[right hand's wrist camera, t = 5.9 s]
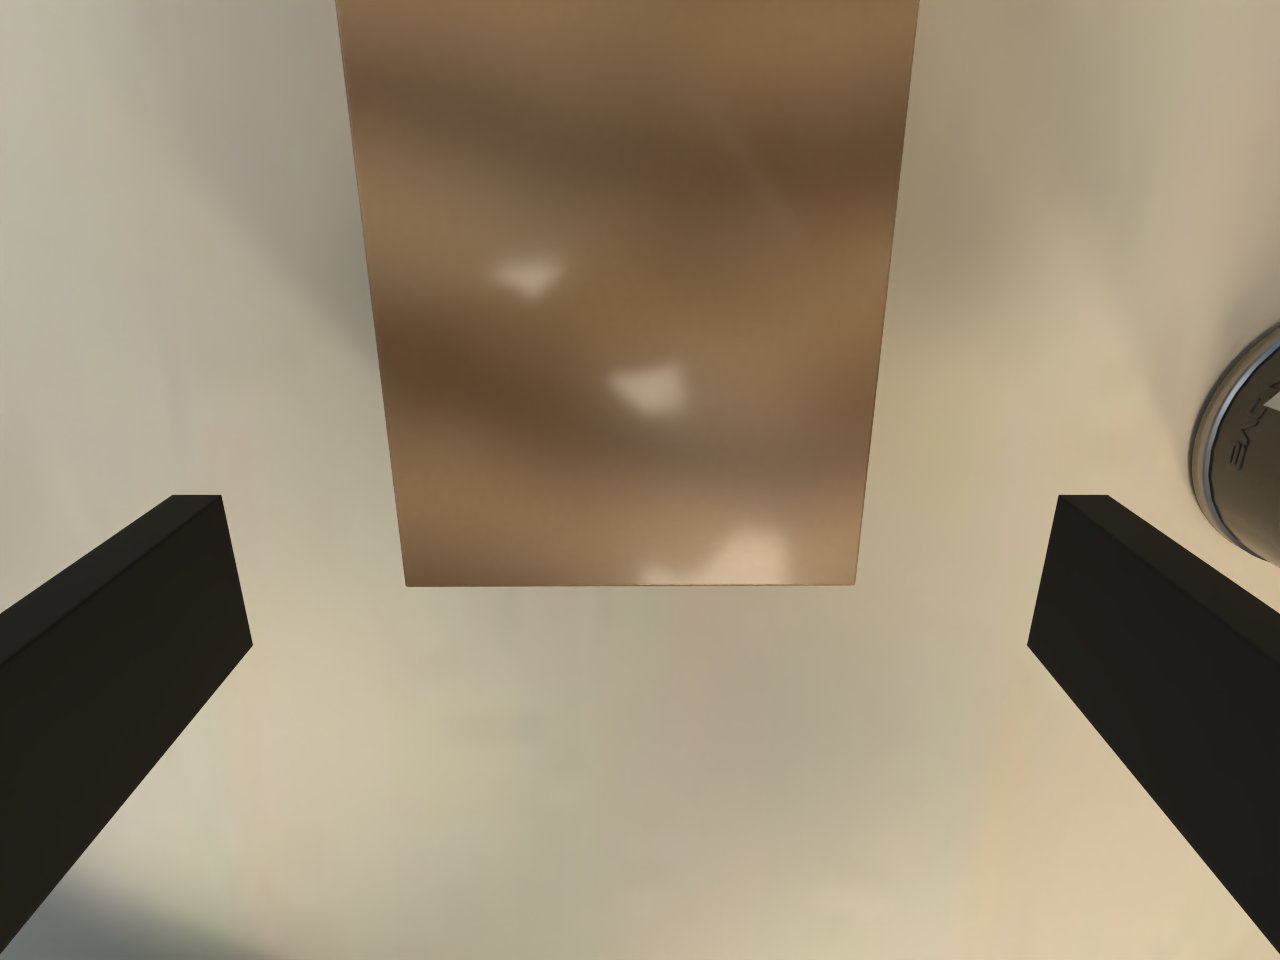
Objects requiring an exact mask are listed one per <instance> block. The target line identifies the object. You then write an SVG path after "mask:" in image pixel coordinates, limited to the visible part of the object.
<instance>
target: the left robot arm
mask: <svg viewBox="0 0 1280 960" xmlns="http://www.w3.org/2000/svg"><path fill="white" fill-rule="evenodd" d="M1192 479H1193V486H1194V490H1195V494H1196V498H1197V500H1198V503H1199V505H1200V508H1201V510H1202V511H1203V513H1204V515H1205V517H1206V518H1207V520H1208V521H1209V522H1210V524H1211V525H1212V526H1213V527H1214V528H1215V529H1216V530H1217V531H1218V532H1219V533H1220V534H1221V535H1222V536H1223V537H1225V538H1226V539H1227V540H1228V541H1230V542H1232V543H1233V544H1235V545H1237V546H1238V547H1240V548H1241V549H1243V550H1245V551H1246V552H1248V553H1250V554H1251V555H1253V556H1256V557H1258V558H1260V559H1262V560H1265V561H1268V562H1270V563H1272V564H1274V565H1275V566H1277V567H1279V568H1280V327H1279V328H1277V329H1276V330H1274V331H1273V332H1271V333H1270V334H1269V335H1267V336H1266V337H1265V338H1263V339H1262V340H1261V341H1260V342H1258V343H1257V344H1256V345H1255V346H1254V347H1253V348H1252V349H1250V350H1249V351H1248V352H1247V353H1246V354H1245V355H1244V356H1243V357H1242V358H1241V359H1240V360H1239V361H1238V362H1237V364H1236V365H1235V366H1234V367H1233V368H1232V370H1231V371H1230V372H1229V373H1228V374H1227V376H1226V377H1225V378H1224V380H1223V381H1222V383H1221V384H1220V385H1219V387H1218V388H1217V390H1216V392H1215V393H1214V395H1213V397H1212V398H1211V400H1210V402H1209V404H1208V406H1207V408H1206V410H1205V412H1204V414H1203V417H1202V419H1201V422H1200V424H1199V427H1198V431H1197V434H1196V438H1195V442H1194V448H1193V455H1192Z"/></svg>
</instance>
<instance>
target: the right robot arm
mask: <svg viewBox="0 0 1280 960" xmlns="http://www.w3.org/2000/svg"><path fill="white" fill-rule="evenodd" d="M252 646H253V643H252V638H251V634H250V629H249V624H248V619H247V615H246V610H245V605H244V601H243V596H242V591H241V586H240V582H239V577H238V572H237V567H236V563H235V558H234V553H233V548H232V544H231V539H230V534H229V529H228V525H227V520H226V515H225V510H224V506H223V501H222V496H221V495H172V496H170V497H169V498H167V499H166V500H164V501H163V502H162V503H160V504H159V505H157V506H156V507H154V508H153V509H151V510H150V511H148V512H147V513H146V514H144V515H143V516H141V517H140V518H138V519H137V520H135V521H134V522H133V523H131V524H130V525H128V526H127V527H125V528H124V529H122V530H121V531H119V532H118V533H117V534H115V535H114V536H112V537H111V538H109V539H108V540H106V541H105V542H104V543H102V544H101V545H99V546H98V547H96V548H95V549H93V550H92V551H91V552H89V553H88V554H86V555H85V556H83V557H82V558H80V559H79V560H77V561H76V562H75V563H73V564H72V565H70V566H69V567H67V568H66V569H64V570H63V571H62V572H60V573H59V574H57V575H56V576H54V577H53V578H51V579H50V580H48V581H47V582H46V583H44V584H43V585H41V586H40V587H38V588H37V589H35V590H34V591H33V592H31V593H30V594H28V595H27V596H25V597H24V598H22V599H21V600H19V601H18V602H17V603H15V604H14V605H12V606H11V607H9V608H8V609H6V610H5V611H4V612H2V613H1V614H0V954H1V952H2V951H3V950H4V949H5V948H6V946H7V945H8V944H9V943H10V941H11V940H12V939H13V938H14V937H15V935H16V934H17V933H18V932H19V930H20V929H21V928H22V927H23V926H24V924H25V923H26V922H27V921H28V919H29V918H30V917H31V916H32V915H33V913H34V912H35V911H36V910H37V908H38V907H39V906H40V905H41V904H42V902H43V901H44V900H45V899H46V897H47V896H48V895H49V894H50V893H51V891H52V890H53V889H54V888H55V886H56V885H57V884H58V883H59V882H60V880H61V879H62V878H63V877H64V875H65V874H66V873H67V872H68V871H69V869H70V868H71V867H72V866H73V864H74V863H75V862H76V861H77V860H78V858H79V857H80V856H81V855H82V853H83V852H84V851H85V850H86V849H87V847H88V846H89V845H90V844H91V842H92V841H93V840H94V839H95V838H96V836H97V835H98V834H99V833H100V831H101V830H102V829H103V828H104V827H105V825H106V824H107V823H108V822H109V821H110V819H111V818H112V817H113V816H114V814H115V813H116V812H117V811H118V810H119V808H120V807H121V806H122V805H123V803H124V802H125V801H126V800H127V799H128V797H129V796H130V795H131V794H132V792H133V791H134V790H135V789H136V788H137V786H138V785H139V784H140V783H141V781H142V780H143V779H144V778H145V777H146V775H147V774H148V773H149V772H150V770H151V769H152V768H153V767H154V766H155V764H156V763H157V762H158V761H159V759H160V758H161V757H162V756H163V755H164V753H165V752H166V751H167V750H168V748H169V747H170V746H171V745H172V744H173V742H174V741H175V740H176V739H177V737H178V736H179V735H180V734H181V733H182V731H183V730H184V729H185V728H186V726H187V725H188V724H189V723H190V722H191V720H192V719H193V718H194V717H195V715H196V714H197V713H198V712H199V711H200V709H201V708H202V707H203V706H204V704H205V703H206V702H207V701H208V700H209V698H210V697H211V696H212V695H213V693H214V692H215V691H216V690H217V689H218V687H219V686H220V685H221V684H222V682H223V681H224V680H225V679H226V678H227V676H228V675H229V674H230V673H231V671H232V670H233V669H234V668H235V667H236V665H237V664H238V663H239V662H240V660H241V659H242V658H243V657H244V656H245V654H246V653H247V652H248V651H249V649H250V648H251V647H252ZM1027 646H1028V647H1029V648H1030V649H1031V651H1032V652H1033V653H1034V654H1035V656H1036V657H1037V658H1038V659H1039V660H1040V662H1041V663H1042V664H1043V665H1044V667H1045V668H1046V669H1047V670H1048V671H1049V673H1050V674H1051V675H1052V676H1053V678H1054V679H1055V680H1056V681H1057V682H1058V684H1059V685H1060V686H1061V687H1062V689H1063V690H1064V691H1065V692H1066V693H1067V695H1068V696H1069V697H1070V698H1071V700H1072V701H1073V702H1074V703H1075V704H1076V706H1077V707H1078V708H1079V709H1080V711H1081V712H1082V713H1083V714H1084V715H1085V717H1086V718H1087V719H1088V720H1089V722H1090V723H1091V724H1092V725H1093V726H1094V728H1095V729H1096V730H1097V731H1098V733H1099V734H1100V735H1101V736H1102V737H1103V739H1104V740H1105V741H1106V742H1107V744H1108V745H1109V746H1110V747H1111V748H1112V750H1113V751H1114V752H1115V753H1116V755H1117V756H1118V757H1119V758H1120V759H1121V761H1122V762H1123V763H1124V764H1125V766H1126V767H1127V768H1128V769H1129V770H1130V772H1131V773H1132V774H1133V775H1134V777H1135V778H1136V779H1137V780H1138V781H1139V783H1140V784H1141V785H1142V786H1143V788H1144V789H1145V790H1146V791H1147V792H1148V794H1149V795H1150V796H1151V797H1152V799H1153V800H1154V801H1155V802H1156V803H1157V805H1158V806H1159V807H1160V808H1161V810H1162V811H1163V812H1164V813H1165V814H1166V816H1167V817H1168V818H1169V819H1170V821H1171V822H1172V823H1173V824H1174V825H1175V827H1176V828H1177V829H1178V830H1179V831H1180V833H1181V834H1182V835H1183V836H1184V838H1185V839H1186V840H1187V841H1188V842H1189V844H1190V845H1191V846H1192V847H1193V849H1194V850H1195V851H1196V852H1197V853H1198V855H1199V856H1200V857H1201V858H1202V860H1203V861H1204V862H1205V863H1206V864H1207V866H1208V867H1209V868H1210V869H1211V871H1212V872H1213V873H1214V874H1215V875H1216V877H1217V878H1218V879H1219V880H1220V882H1221V883H1222V884H1223V885H1224V886H1225V888H1226V889H1227V890H1228V891H1229V893H1230V894H1231V895H1232V896H1233V897H1234V899H1235V900H1236V901H1237V902H1238V904H1239V905H1240V906H1241V907H1242V908H1243V910H1244V911H1245V912H1246V913H1247V915H1248V916H1249V917H1250V918H1251V919H1252V921H1253V922H1254V923H1255V924H1256V926H1257V927H1258V928H1259V929H1260V930H1261V932H1262V933H1263V934H1264V935H1265V937H1266V938H1267V939H1268V940H1269V941H1270V943H1271V944H1272V945H1273V946H1274V948H1275V949H1276V950H1277V951H1278V952H1279V954H1280V614H1279V613H1278V612H1276V611H1275V610H1274V609H1272V608H1271V607H1269V606H1268V605H1266V604H1265V603H1263V602H1262V601H1261V600H1259V599H1258V598H1256V597H1255V596H1253V595H1252V594H1250V593H1249V592H1247V591H1246V590H1245V589H1243V588H1242V587H1240V586H1239V585H1237V584H1236V583H1234V582H1233V581H1232V580H1230V579H1229V578H1227V577H1226V576H1224V575H1223V574H1221V573H1220V572H1218V571H1217V570H1216V569H1214V568H1213V567H1211V566H1210V565H1208V564H1207V563H1205V562H1204V561H1203V560H1201V559H1200V558H1198V557H1197V556H1195V555H1194V554H1192V553H1191V552H1189V551H1188V550H1187V549H1185V548H1184V547H1182V546H1181V545H1179V544H1178V543H1176V542H1175V541H1174V540H1172V539H1171V538H1169V537H1168V536H1166V535H1165V534H1163V533H1162V532H1161V531H1159V530H1158V529H1156V528H1155V527H1153V526H1152V525H1150V524H1149V523H1147V522H1146V521H1145V520H1143V519H1142V518H1140V517H1139V516H1137V515H1136V514H1134V513H1133V512H1132V511H1130V510H1129V509H1127V508H1126V507H1124V506H1123V505H1121V504H1120V503H1118V502H1117V501H1116V500H1114V499H1113V498H1111V497H1110V496H1108V495H1059V496H1058V501H1057V506H1056V510H1055V515H1054V520H1053V525H1052V529H1051V534H1050V539H1049V544H1048V548H1047V553H1046V558H1045V563H1044V567H1043V572H1042V577H1041V582H1040V586H1039V591H1038V596H1037V601H1036V605H1035V610H1034V615H1033V619H1032V624H1031V629H1030V634H1029V638H1028V643H1027Z"/></svg>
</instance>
